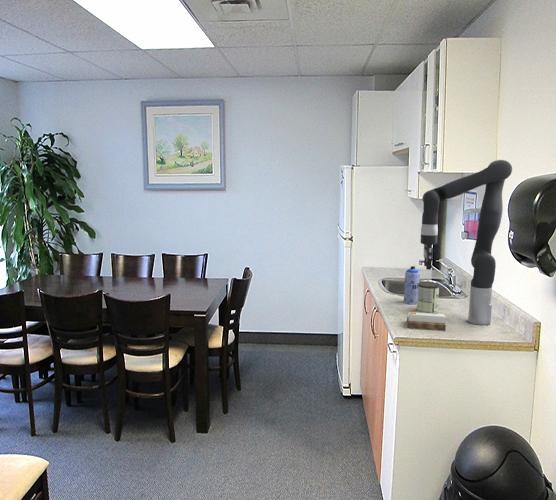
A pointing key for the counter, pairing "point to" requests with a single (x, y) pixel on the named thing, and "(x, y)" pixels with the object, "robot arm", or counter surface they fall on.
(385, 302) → the counter surface
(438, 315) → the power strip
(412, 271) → the aerosol can
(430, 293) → the coffee can
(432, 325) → the mounting board
